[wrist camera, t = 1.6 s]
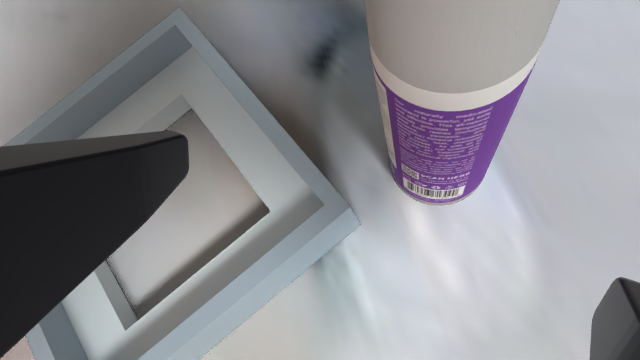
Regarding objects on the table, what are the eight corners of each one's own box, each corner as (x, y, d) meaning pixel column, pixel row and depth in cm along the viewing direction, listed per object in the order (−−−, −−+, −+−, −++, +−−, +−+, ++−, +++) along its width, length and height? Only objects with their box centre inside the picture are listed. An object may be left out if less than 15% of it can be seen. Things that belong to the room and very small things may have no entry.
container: (508, 161, 21) (680, -153, 7) (437, 225, 21) (475, 30, 7) (437, 101, 23) (467, -245, 9) (371, 160, 23) (296, -101, 9)
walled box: (122, 422, 21) (69, 439, 18) (16, 198, 27) (-40, 180, 23) (360, 224, 22) (350, 206, 18) (207, 44, 27) (179, 7, 24)
